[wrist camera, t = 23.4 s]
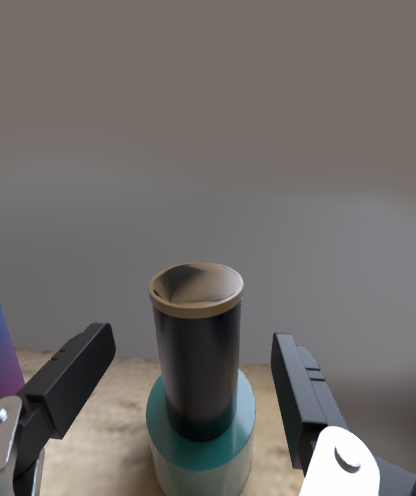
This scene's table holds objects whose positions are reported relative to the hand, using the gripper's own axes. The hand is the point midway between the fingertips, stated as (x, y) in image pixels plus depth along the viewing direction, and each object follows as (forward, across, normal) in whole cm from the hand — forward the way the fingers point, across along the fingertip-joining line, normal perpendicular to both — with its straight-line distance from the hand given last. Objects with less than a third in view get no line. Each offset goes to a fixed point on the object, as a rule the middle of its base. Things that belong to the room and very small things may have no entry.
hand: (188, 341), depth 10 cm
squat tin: (+3, 0, +13) cm, 13 cm away
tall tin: (+3, 0, +8) cm, 9 cm away
